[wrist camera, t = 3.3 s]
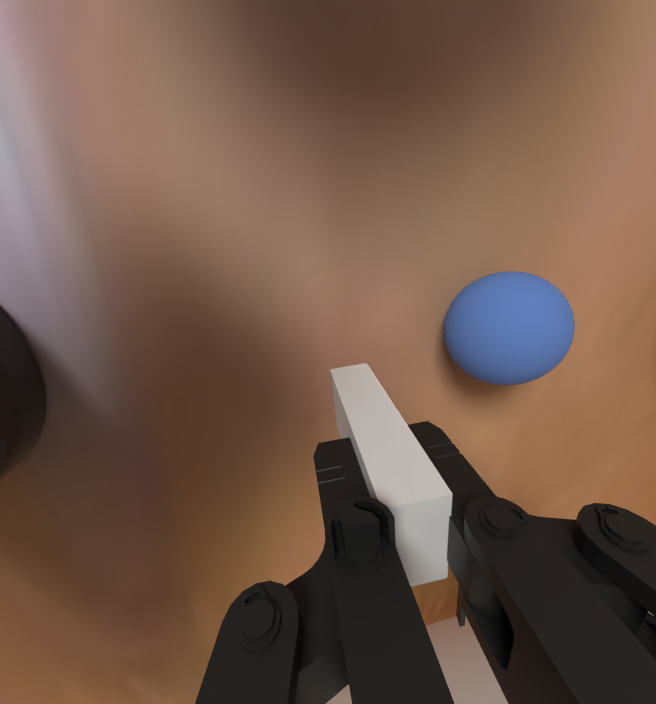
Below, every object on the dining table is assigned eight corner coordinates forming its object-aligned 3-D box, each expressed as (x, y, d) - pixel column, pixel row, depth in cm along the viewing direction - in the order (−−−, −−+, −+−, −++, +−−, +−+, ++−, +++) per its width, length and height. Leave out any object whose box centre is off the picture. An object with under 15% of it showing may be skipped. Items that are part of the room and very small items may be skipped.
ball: (424, 365, 20) (480, 417, 15) (425, 272, 18) (493, 293, 12) (508, 350, 21) (592, 394, 15) (520, 258, 18) (625, 272, 13)
